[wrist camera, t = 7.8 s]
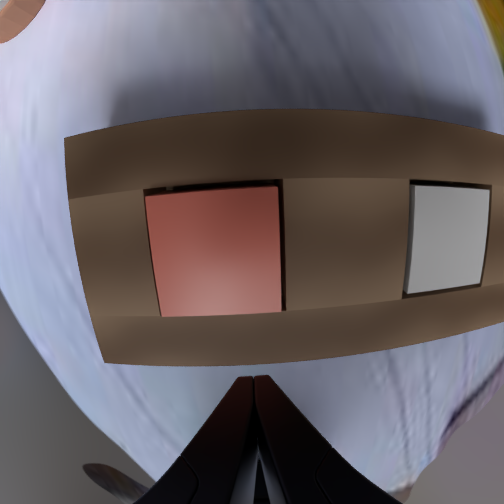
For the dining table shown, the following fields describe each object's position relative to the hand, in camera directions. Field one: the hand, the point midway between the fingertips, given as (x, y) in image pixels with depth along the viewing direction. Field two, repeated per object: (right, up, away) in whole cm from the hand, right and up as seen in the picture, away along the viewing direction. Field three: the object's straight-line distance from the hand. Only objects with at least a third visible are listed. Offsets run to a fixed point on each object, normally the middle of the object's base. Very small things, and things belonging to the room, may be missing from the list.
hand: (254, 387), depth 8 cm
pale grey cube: (+10, +5, +9) cm, 15 cm away
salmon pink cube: (-2, +4, +8) cm, 9 cm away
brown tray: (+4, +5, +10) cm, 12 cm away
